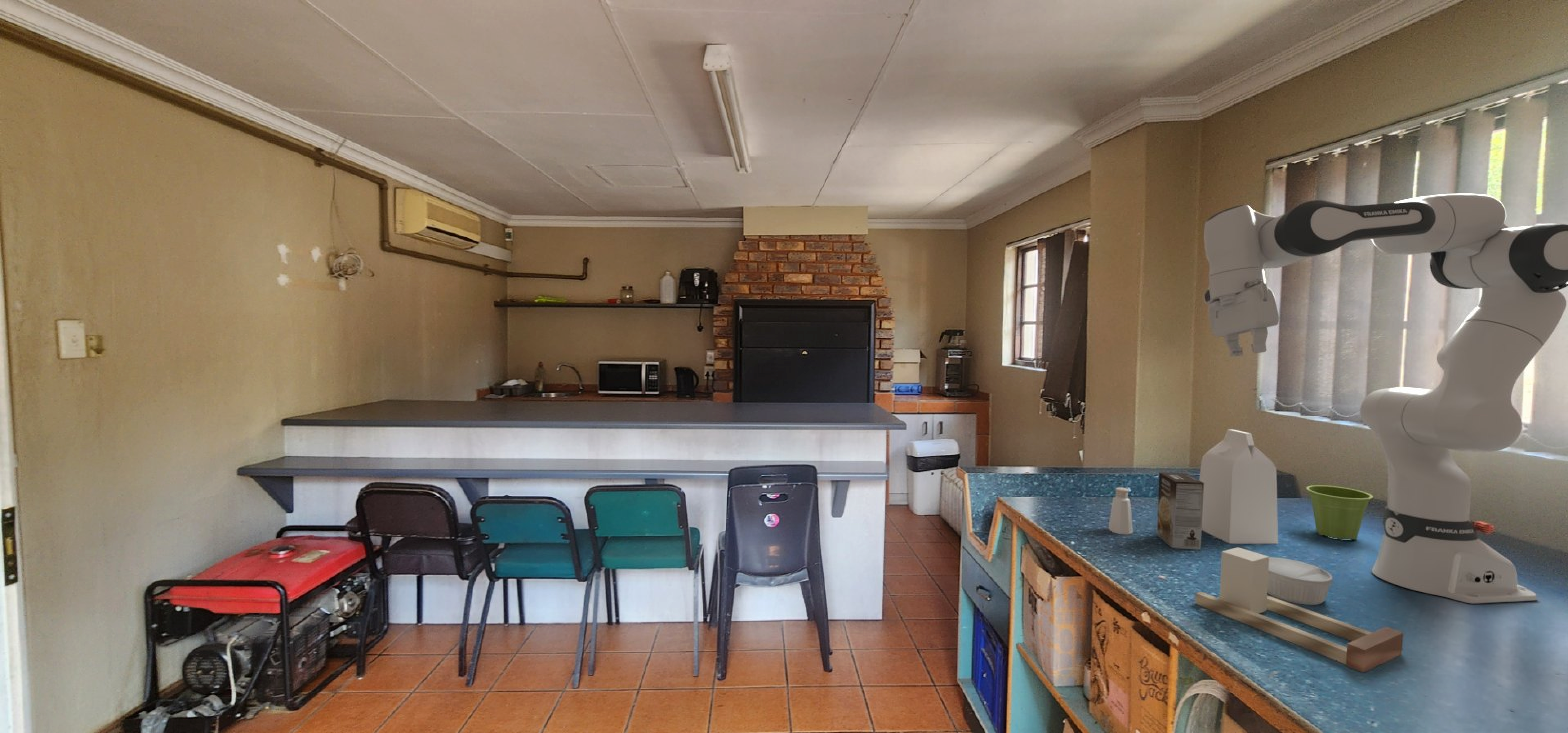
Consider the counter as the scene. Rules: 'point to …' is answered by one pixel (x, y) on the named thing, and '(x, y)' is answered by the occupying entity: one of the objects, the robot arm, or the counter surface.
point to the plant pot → (1338, 510)
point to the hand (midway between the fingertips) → (1247, 354)
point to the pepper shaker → (1121, 513)
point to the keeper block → (1244, 579)
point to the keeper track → (1357, 655)
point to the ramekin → (1297, 581)
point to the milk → (1239, 492)
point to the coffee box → (1180, 510)
